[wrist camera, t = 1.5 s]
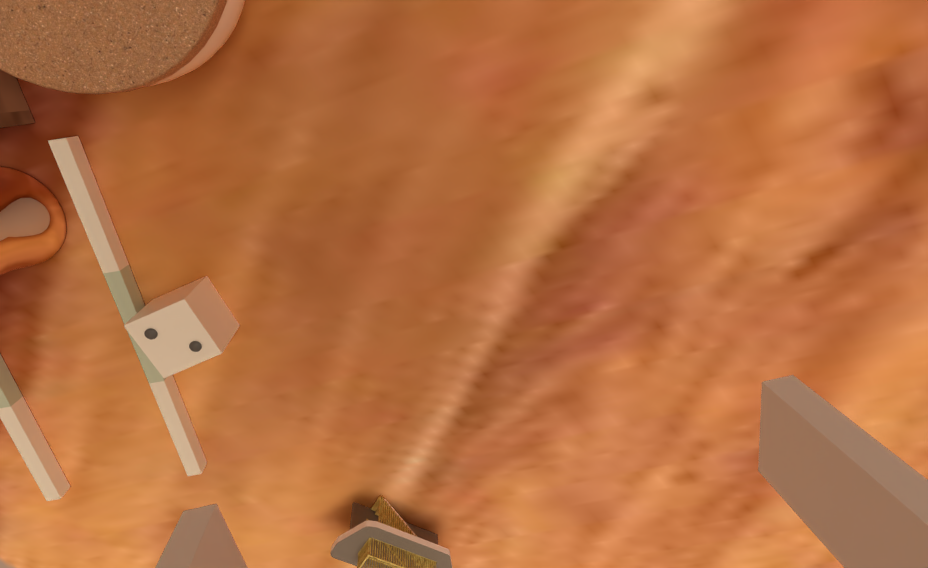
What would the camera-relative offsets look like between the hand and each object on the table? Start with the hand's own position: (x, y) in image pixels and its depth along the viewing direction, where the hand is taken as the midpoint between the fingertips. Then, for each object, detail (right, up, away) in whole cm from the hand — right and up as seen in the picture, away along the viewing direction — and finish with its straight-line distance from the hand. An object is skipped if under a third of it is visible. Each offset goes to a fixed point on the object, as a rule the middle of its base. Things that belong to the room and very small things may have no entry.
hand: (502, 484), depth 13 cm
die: (-19, +3, +23) cm, 30 cm away
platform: (-6, -14, +31) cm, 35 cm away
